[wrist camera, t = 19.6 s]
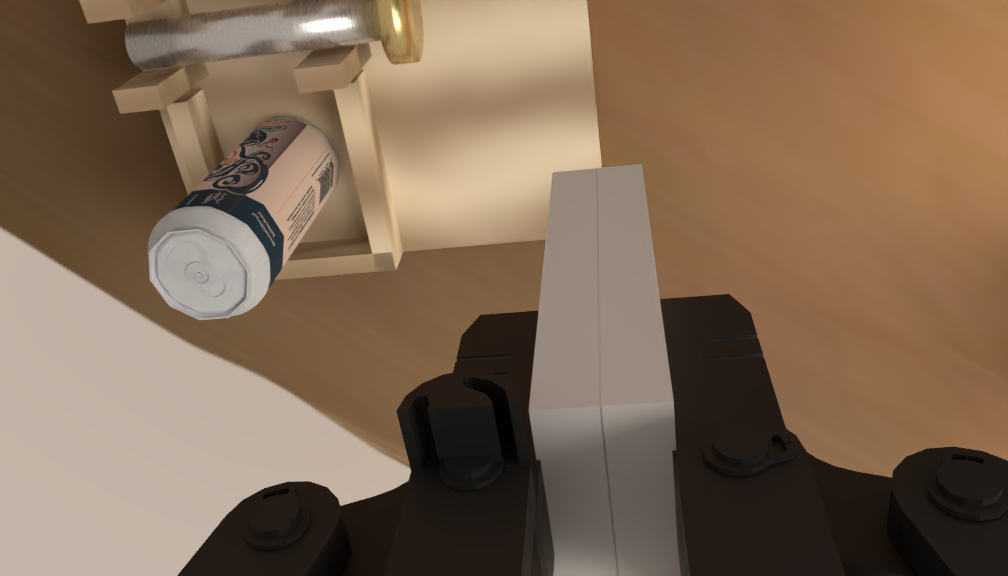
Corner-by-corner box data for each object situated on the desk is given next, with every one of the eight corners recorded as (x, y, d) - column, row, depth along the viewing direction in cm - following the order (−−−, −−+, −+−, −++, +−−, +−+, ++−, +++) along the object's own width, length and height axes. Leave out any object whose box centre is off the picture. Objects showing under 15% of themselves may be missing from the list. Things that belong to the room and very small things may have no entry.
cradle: (112, -50, 39) (45, -27, 35) (576, -116, 36) (574, -102, 32) (216, 262, 47) (173, 316, 42) (607, 228, 44) (609, 283, 39)
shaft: (143, -12, 38) (98, 8, 35) (411, -48, 36) (392, -31, 33) (172, 78, 40) (133, 106, 37) (428, 48, 38) (411, 73, 35)
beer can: (287, 92, 41) (184, 192, 31) (362, 162, 43) (287, 280, 32) (228, 156, 43) (111, 271, 33) (301, 222, 45) (212, 351, 34)
